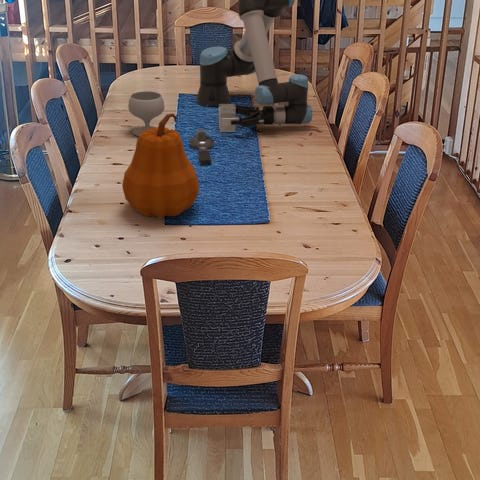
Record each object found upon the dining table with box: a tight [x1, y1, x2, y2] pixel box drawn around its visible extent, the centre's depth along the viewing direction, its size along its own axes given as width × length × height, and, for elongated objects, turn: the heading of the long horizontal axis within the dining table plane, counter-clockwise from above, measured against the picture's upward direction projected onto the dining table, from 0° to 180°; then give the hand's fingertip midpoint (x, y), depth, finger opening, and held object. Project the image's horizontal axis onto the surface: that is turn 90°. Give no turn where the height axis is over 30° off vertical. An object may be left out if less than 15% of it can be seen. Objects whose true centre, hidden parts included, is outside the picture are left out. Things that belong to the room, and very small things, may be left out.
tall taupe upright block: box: [218, 103, 237, 134], centre depth 299 cm, size 6×6×10 cm
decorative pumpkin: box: [121, 113, 201, 219], centre depth 229 cm, size 24×24×30 cm
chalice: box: [127, 91, 165, 137], centre depth 294 cm, size 14×14×15 cm
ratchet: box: [189, 129, 215, 166], centre depth 278 cm, size 24×9×6 cm, turn 7°
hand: (220, 116), depth 299 cm, fingers open, 13 cm apart
